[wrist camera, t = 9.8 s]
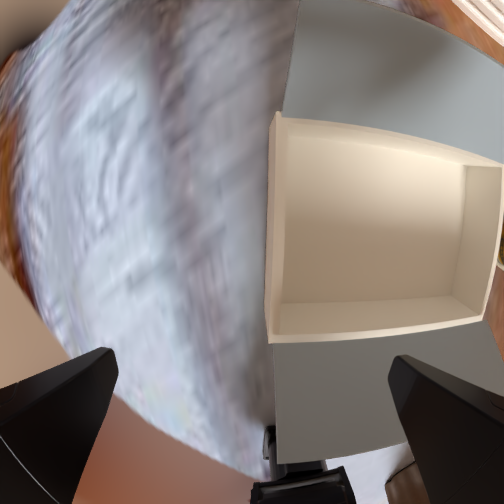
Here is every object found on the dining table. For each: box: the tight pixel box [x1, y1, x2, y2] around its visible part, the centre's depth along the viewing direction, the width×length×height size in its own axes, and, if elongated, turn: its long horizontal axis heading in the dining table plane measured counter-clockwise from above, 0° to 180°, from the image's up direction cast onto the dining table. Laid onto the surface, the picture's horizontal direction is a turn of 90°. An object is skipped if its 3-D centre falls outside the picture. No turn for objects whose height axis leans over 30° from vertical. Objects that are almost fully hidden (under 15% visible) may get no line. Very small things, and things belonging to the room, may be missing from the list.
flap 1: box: [281, 0, 504, 164], centre depth 9 cm, size 7×18×1 cm
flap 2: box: [273, 320, 504, 464], centre depth 13 cm, size 7×18×1 cm
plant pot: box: [385, 462, 430, 504], centre depth 23 cm, size 16×16×16 cm
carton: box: [264, 111, 504, 343], centre depth 17 cm, size 13×18×5 cm
